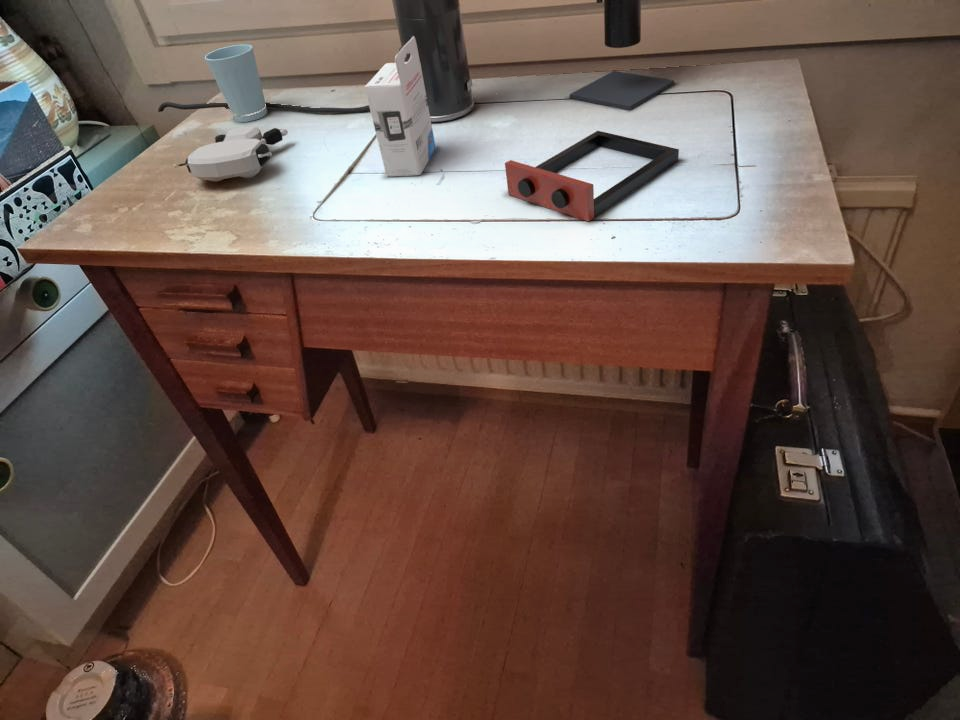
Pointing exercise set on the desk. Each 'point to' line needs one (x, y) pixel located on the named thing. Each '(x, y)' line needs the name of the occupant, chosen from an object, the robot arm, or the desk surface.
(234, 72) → the cup
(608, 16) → the can
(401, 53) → the ink box
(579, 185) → the stove
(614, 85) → the mat
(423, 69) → the robot arm
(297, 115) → the desk surface
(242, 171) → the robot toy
